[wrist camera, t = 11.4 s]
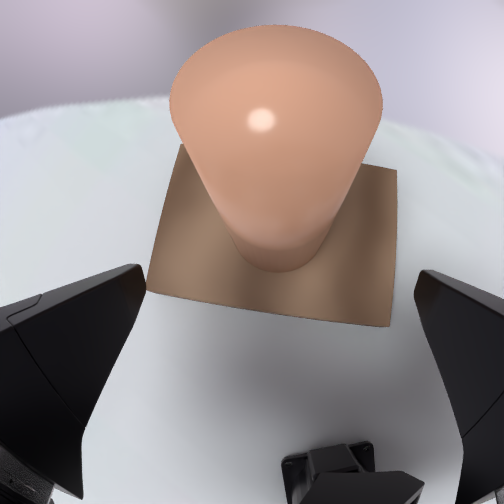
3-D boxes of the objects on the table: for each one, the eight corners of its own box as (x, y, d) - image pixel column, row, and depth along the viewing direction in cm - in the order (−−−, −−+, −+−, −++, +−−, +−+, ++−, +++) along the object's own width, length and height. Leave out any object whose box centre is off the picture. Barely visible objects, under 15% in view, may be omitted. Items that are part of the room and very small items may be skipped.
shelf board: (388, 181, 23) (396, 170, 21) (379, 327, 20) (389, 326, 18) (187, 156, 25) (180, 143, 23) (155, 293, 22) (144, 289, 20)
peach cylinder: (343, 235, 20) (422, 109, 7) (268, 292, 20) (251, 227, 7) (285, 168, 21) (288, 8, 9) (213, 218, 21) (137, 83, 8)
